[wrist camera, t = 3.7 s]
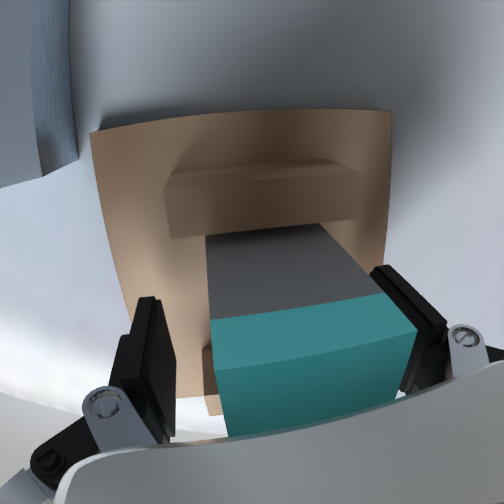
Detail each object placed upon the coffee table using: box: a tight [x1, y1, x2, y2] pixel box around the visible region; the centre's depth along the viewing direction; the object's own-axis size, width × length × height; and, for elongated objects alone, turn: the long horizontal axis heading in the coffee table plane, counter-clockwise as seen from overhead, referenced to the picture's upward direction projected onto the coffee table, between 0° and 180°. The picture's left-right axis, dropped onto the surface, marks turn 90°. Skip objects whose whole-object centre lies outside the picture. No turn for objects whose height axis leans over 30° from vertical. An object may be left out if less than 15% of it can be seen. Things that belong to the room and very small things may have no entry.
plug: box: [205, 223, 418, 437], centre depth 10 cm, size 4×6×8 cm, turn 4°
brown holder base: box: [89, 108, 392, 416], centre depth 13 cm, size 12×14×4 cm
